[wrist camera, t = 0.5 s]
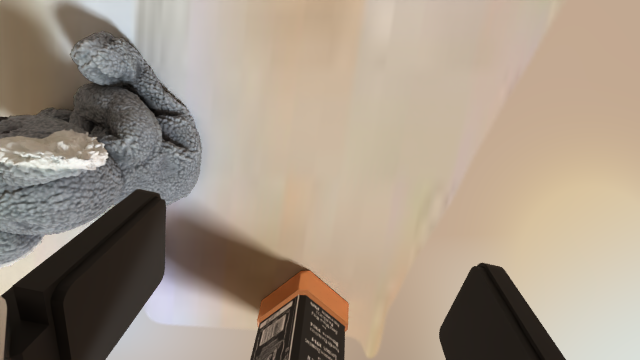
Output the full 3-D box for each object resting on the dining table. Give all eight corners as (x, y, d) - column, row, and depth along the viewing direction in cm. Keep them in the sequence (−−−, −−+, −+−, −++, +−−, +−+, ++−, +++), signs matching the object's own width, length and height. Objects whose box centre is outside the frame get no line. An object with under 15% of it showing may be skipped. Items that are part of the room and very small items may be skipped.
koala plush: (116, 18, 35) (-119, 5, 17) (243, 140, 40) (164, 229, 22) (41, 127, 40) (-196, 203, 22) (160, 222, 45) (43, 346, 27)
